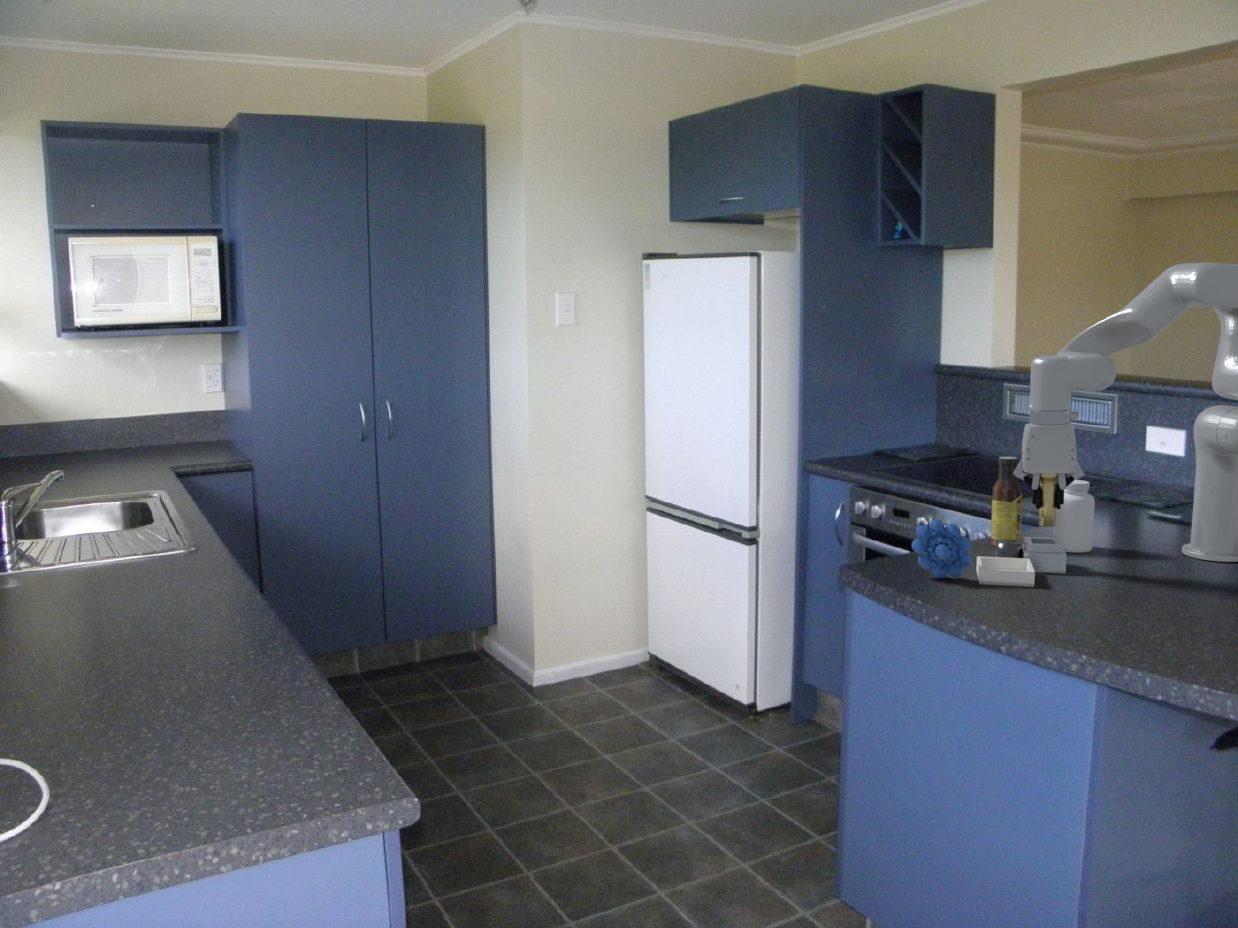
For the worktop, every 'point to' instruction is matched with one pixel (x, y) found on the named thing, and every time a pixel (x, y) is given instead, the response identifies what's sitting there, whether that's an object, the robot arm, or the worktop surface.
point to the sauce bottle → (1006, 503)
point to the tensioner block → (1035, 553)
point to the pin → (1048, 500)
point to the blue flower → (942, 549)
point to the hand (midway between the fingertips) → (1047, 506)
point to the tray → (1005, 571)
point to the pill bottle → (1076, 518)
